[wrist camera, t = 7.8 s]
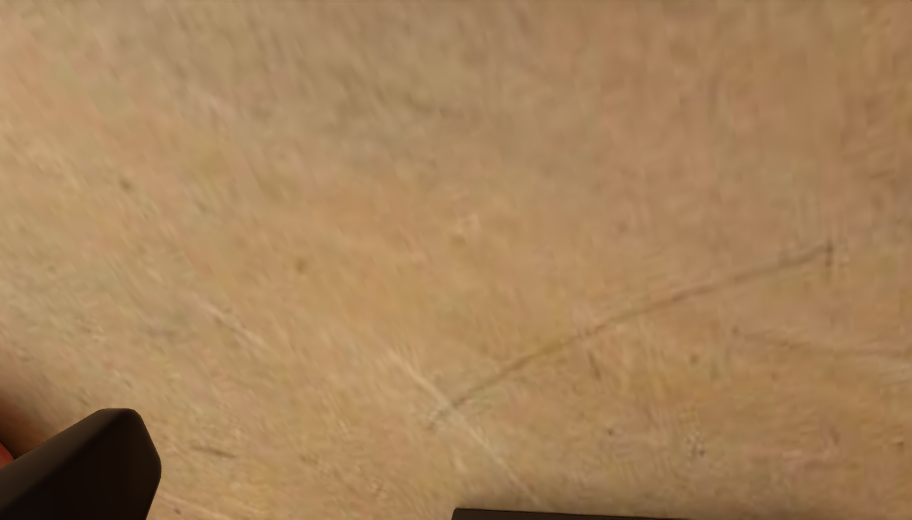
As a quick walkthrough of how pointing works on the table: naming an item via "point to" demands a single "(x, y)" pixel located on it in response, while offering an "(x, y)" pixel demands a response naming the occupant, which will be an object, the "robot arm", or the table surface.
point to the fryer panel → (525, 516)
